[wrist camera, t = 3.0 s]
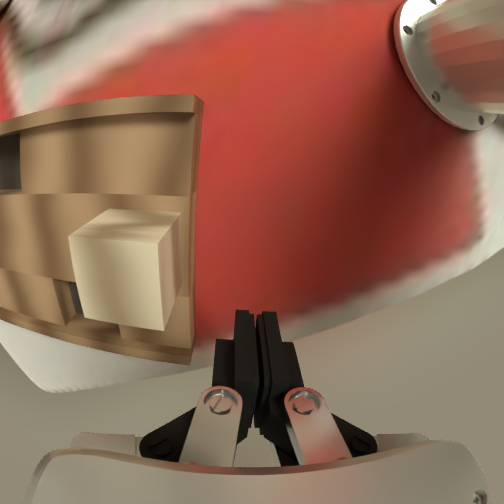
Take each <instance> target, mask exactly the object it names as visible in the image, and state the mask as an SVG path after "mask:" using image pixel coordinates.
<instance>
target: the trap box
mask: <svg viewBox="0 0 504 504" xmlns="http://www.w3.org/2000/svg"><path fill="white" fill-rule="evenodd" d="M203 105H204V102H203V101H202V100H201V99H199V98H198V97H197V96H196V95H152V96H136V97H124V98H114V99H105V100H98V101H91V102H84V103H78V104H72V105H67V106H62V107H57V108H52V109H48V110H43V111H39V112H35V113H31V114H27V115H24V116H20V117H17V118H13V119H10V120H7V121H3V122H0V319H1V320H3V321H6V322H8V323H11V324H14V325H17V326H19V327H22V328H25V329H28V330H31V331H34V332H37V333H40V334H43V335H47V336H50V337H53V338H57V339H60V340H64V341H67V342H71V343H75V344H78V345H82V346H86V347H90V348H95V349H99V350H103V351H108V352H113V353H117V354H122V355H127V356H133V357H138V358H144V359H150V360H156V361H162V362H169V363H177V364H184V365H190V362H191V357H192V352H193V347H194V342H195V228H196V202H197V182H198V165H199V151H200V138H201V126H202V115H203ZM108 209H127V210H147V211H164V212H180V213H181V277H182V285H181V287H180V290H179V292H178V295H177V298H176V300H175V303H174V305H173V308H172V311H171V313H170V316H169V319H168V322H167V324H166V327H165V330H164V331H160V330H153V329H146V328H139V327H133V326H127V325H121V324H115V323H110V322H105V321H99V320H94V319H89V318H85V317H84V313H83V309H82V305H81V301H80V297H79V293H78V289H77V284H76V279H75V274H74V269H73V264H72V258H71V252H70V246H69V239H68V236H69V235H71V234H72V233H73V232H75V231H76V230H78V229H79V228H81V227H82V226H83V225H85V224H86V223H88V222H89V221H91V220H92V219H94V218H95V217H97V216H98V215H100V214H102V213H103V212H105V211H106V210H108Z"/></svg>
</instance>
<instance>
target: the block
mask: <svg viewBox="0 0 504 504" xmlns="http://www.w3.org/2000/svg"><path fill="white" fill-rule="evenodd" d="M68 239H69V246H70V252H71V258H72V264H73V269H74V274H75V279H76V284H77V289H78V293H79V297H80V301H81V305H82V309H83V313H84V317H85V318H89V319H94V320H99V321H105V322H110V323H115V324H121V325H127V326H133V327H139V328H146V329H153V330H160V331H164V330H165V327H166V324H167V322H168V319H169V316H170V313H171V311H172V308H173V305H174V303H175V300H176V298H177V295H178V292H179V290H180V287H181V285H182V277H181V213H180V212H164V211H147V210H127V209H108V210H106V211H105V212H103V213H102V214H100V215H98V216H97V217H95V218H94V219H92V220H91V221H89V222H88V223H86V224H85V225H83V226H82V227H81V228H79V229H78V230H76V231H75V232H73V233H72V234H71V235H69V236H68Z"/></svg>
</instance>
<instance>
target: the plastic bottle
mask: <svg viewBox="0 0 504 504" xmlns="http://www.w3.org/2000/svg"><path fill="white" fill-rule="evenodd" d="M8 2H9V0H0V12H1V11H2V10H3V9H4V7H5V6H6V5H7V3H8Z"/></svg>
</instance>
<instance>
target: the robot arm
mask: <svg viewBox="0 0 504 504" xmlns="http://www.w3.org/2000/svg"><path fill="white" fill-rule="evenodd" d="M394 39H395V46H396V49H397V52H398V56H399V59H400V62H401V64H402V66H403V68H404V71H405V73H406V75H407V77H408V79H409V80H410V82H411V84H412V86H413V87H414V89H415V90H416V92H417V93H418V94H419V96H420V97H421V99H422V100H423V101H424V102H425V104H426V105H427V106H428V107H429V108H430V109H431V110H432V111H433V112H434V113H435V114H436V115H437V116H439V117H440V118H441V119H442V120H444V121H445V122H447V123H449V124H450V125H452V126H454V127H457V128H460V129H466V130H482V129H484V128H486V127H488V126H489V125H490V124H492V123H493V122H494V120H495V119H496V117H497V116H498V114H504V0H406V1H404V2H403V3H402V4H401V5H400V7H399V8H398V10H397V12H396V15H395V19H394ZM253 414H254V426H255V428H259V429H260V435H264V437H265V438H266V439H267V440H269V441H270V444H271V449H272V452H273V456H274V459H275V462H276V466H277V467H257V468H256V467H255V468H253V467H252V468H251V467H248V468H247V467H244V468H243V467H233V465H234V459H235V453H236V448H237V444H238V443H239V442H241V441H242V440H243V439H245V438H246V437H247V434H248V428H251V424H252V418H253ZM22 504H497V502H496V499H495V496H494V494H493V491H492V489H491V486H490V484H489V482H488V480H487V477H486V475H485V473H484V471H483V469H482V467H481V465H480V464H479V462H478V460H477V459H476V457H475V455H474V454H473V453H472V451H471V450H470V449H469V448H468V447H467V446H466V445H465V444H463V443H461V442H459V441H454V440H429V439H428V438H427V437H426V436H425V435H423V434H420V433H409V434H378V435H377V436H374V437H373V436H372V435H370V434H369V433H367V432H365V431H363V430H361V429H359V428H358V427H356V426H354V425H352V424H350V423H348V422H346V421H345V420H343V419H341V418H339V417H337V416H335V415H334V414H332V413H330V411H329V409H328V407H327V404H326V402H325V400H324V398H323V397H322V396H321V395H320V394H319V393H318V392H317V391H315V390H313V389H310V388H305V387H304V384H303V380H302V376H301V371H300V367H299V363H298V359H297V355H296V351H295V348H294V344H293V343H292V342H282V340H281V335H280V330H279V325H278V320H277V315H276V312H268V311H263V312H262V315H260V314H258V315H257V320H256V327H255V322H254V314H249V310H236V314H235V326H234V338H233V340H225V339H216V345H215V356H214V369H213V380H212V387H211V388H208V389H206V390H205V391H204V392H203V393H202V394H201V396H200V398H199V400H198V404H197V406H196V407H195V408H193V409H191V410H190V411H188V412H186V413H185V414H183V415H181V416H179V417H178V418H176V419H174V420H173V421H171V422H169V423H167V424H165V425H164V426H162V427H160V428H158V429H156V430H154V431H152V432H151V433H149V434H147V435H146V436H144V437H135V435H124V434H123V435H122V434H102V433H90V432H83V433H79V434H77V435H75V437H74V438H73V439H72V441H71V445H70V448H62V449H56V450H53V451H51V452H49V453H47V454H46V455H45V456H44V457H43V458H42V459H41V460H40V462H39V463H38V465H37V467H36V469H35V471H34V472H33V474H32V477H31V479H30V481H29V484H28V486H27V489H26V492H25V495H24V498H23V502H22Z"/></svg>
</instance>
